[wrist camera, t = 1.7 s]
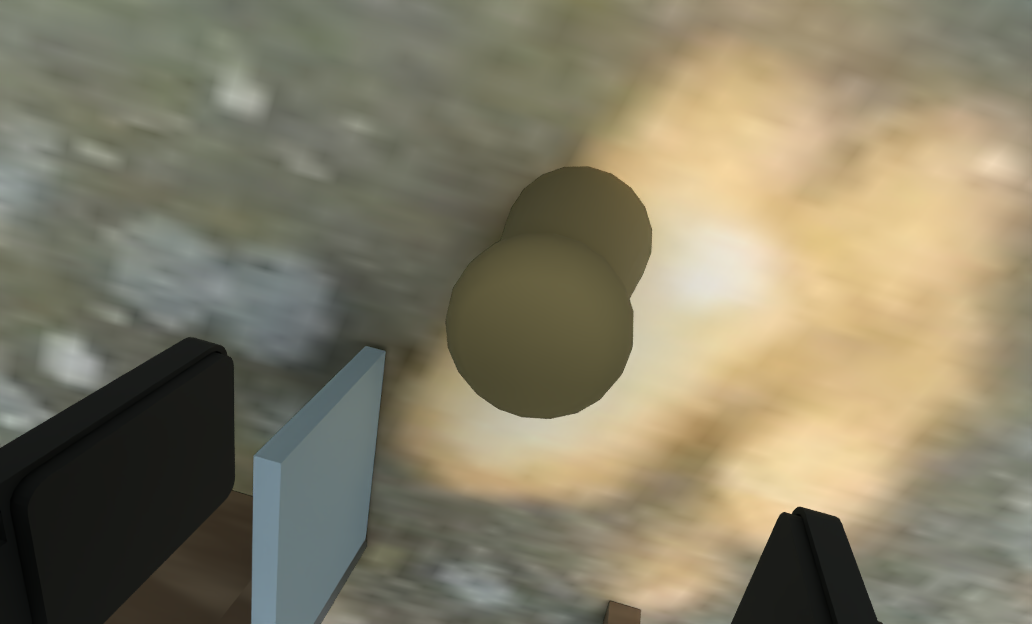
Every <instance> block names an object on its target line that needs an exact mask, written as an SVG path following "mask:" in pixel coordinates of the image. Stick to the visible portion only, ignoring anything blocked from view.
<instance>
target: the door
mask: <svg viewBox="0 0 1032 624" xmlns="http://www.w3.org/2000/svg"><path fill="white" fill-rule="evenodd" d="M385 354H386V351H383V350H379V349H376V348H372V347H368V346H365V347H364V348H363V349H362V350H361V351H360V352H359V353H358V354H357V355H356V356H355V357H354V358H353V359H352V360H351V361H350V362H349V363H348V364H347V365H346V366H345V367H344V368H342V369H341V370H340V371H339V372H338V373H337V374H336V375H335V376H334V377H333V378H332V379H331V380H330V381H329V382H328V383H327V384H326V385H325V386H324V387H323V388H322V389H321V390H320V391H319V392H318V393H317V394H316V395H315V396H314V397H313V398H312V399H311V400H310V401H309V402H308V403H307V404H306V405H305V406H304V407H303V408H302V409H301V410H300V411H299V412H298V413H297V414H296V415H295V416H294V417H293V418H291V419H290V420H289V421H288V422H287V423H286V424H285V425H284V426H283V427H282V428H281V429H280V430H279V431H278V432H277V433H276V434H275V435H274V436H273V437H272V438H271V439H270V440H269V441H268V442H267V443H266V444H265V445H264V446H263V447H262V448H261V449H260V450H259V451H258V452H257V453H256V454H255V455H254V467H253V540H252V614H251V624H321V623H322V621H323V619H324V618H325V616H326V614H327V613H328V611H329V609H330V608H331V606H332V604H333V603H334V601H335V599H336V598H337V596H338V594H339V593H340V591H341V589H342V588H343V586H344V584H345V582H346V581H347V579H348V577H349V576H350V574H351V572H352V571H353V569H354V567H355V566H356V564H357V562H358V561H359V559H360V557H361V556H362V554H363V552H364V551H365V549H366V547H367V543H366V540H365V539H366V532H367V522H368V513H369V504H370V494H371V485H372V475H373V466H374V457H375V447H376V438H377V429H378V419H379V410H380V400H381V391H382V382H383V372H384V363H385Z"/></svg>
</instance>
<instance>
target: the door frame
mask: <svg viewBox="0 0 1032 624" xmlns="http://www.w3.org/2000/svg"><path fill="white" fill-rule="evenodd" d="M252 540H253V497H252V496H249V495H245V494H242V493H239V492H235V491H231V493H230V494H229V496H228V498H227V499H226V500H225V501H224V502H223V503H222V504H221V505H220V506H219V507H218V508H217V509H216V510H215V511H214V512H213V513H212V514H211V515H210V516H209V517H208V518H207V519H206V520H205V521H204V522H203V523H202V524H201V525H200V526H199V528H198V529H197V530H196V531H195V532H194V533H193V534H192V535H191V536H190V537H189V538H188V539H187V540H186V541H185V542H184V543H183V544H182V545H181V546H180V547H179V548H178V549H177V550H176V551H175V552H174V553H173V554H172V555H171V556H170V557H169V558H168V559H167V560H166V561H165V562H164V563H163V564H162V565H161V566H160V567H159V568H158V569H157V570H156V571H155V572H154V573H153V574H152V575H151V576H150V577H149V578H148V579H147V580H146V581H145V582H144V583H143V584H142V585H141V586H140V587H139V588H138V589H137V590H136V591H135V592H134V593H133V594H132V595H131V596H130V597H129V598H128V599H127V600H126V601H125V602H124V603H123V604H122V605H121V606H120V607H119V608H118V610H117V611H116V612H115V613H114V614H113V615H112V616H111V617H110V618H109V619H108V620H107V621H106V622H105V623H104V624H251V614H252ZM640 615H641V610H639V609H635V608H632V607H629V606H625V605H622V604H619V603H615V602H612V601H610V602H609V605H608V608H607V611H606V614H605V618H604V621H603V624H640Z"/></svg>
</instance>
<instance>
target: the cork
mask: <svg viewBox="0 0 1032 624" xmlns="http://www.w3.org/2000/svg"><path fill="white" fill-rule="evenodd" d="M651 243H652V228H651V225H650V222H649V218H648V215H647V212H646V209H645V206H644V205H643V204H642V202H641V201H640V199H639V198H638V197H637V195H636V194H635V193H634V191H633V190H632V188H631V187H629V186H628V185H626V184H625V183H624V182H622V181H621V180H619V179H618V178H617V177H615V176H614V175H612V174H611V173H607V172H604V171H601V170H598V169H594V168H591V167H563V168H560V169H557V170H555V171H552V172H549V173H546V174H543V175H541V176H540V177H539V178H538V179H536V180H535V181H534V182H532V183H531V184H530V185H528V186H527V187H526V188H525V189H524V190H523V191H522V193H521V194H520V196H519V197H518V199H517V200H516V202H515V203H514V205H513V206H512V208H511V211H510V214H509V217H508V220H507V223H506V225H505V228H504V231H503V234H502V237H501V240H500V241H499V242H496V243H495V244H493V245H492V246H491V247H489V248H488V249H487V250H485V251H484V252H483V253H482V254H480V255H479V256H478V257H476V258H475V259H474V260H473V261H472V262H471V263H470V264H469V265H468V266H467V268H466V269H465V271H464V272H463V274H462V275H461V277H460V278H459V280H458V281H457V283H456V284H455V286H454V287H453V291H452V295H451V299H450V303H449V307H448V311H447V316H446V332H447V342H448V349H449V351H450V353H451V356H452V358H453V360H454V363H455V365H456V367H457V370H458V372H459V373H460V374H461V376H462V377H463V378H464V379H465V380H466V382H467V383H468V384H469V385H470V386H471V388H472V389H473V390H474V391H475V392H476V394H477V395H479V396H480V397H482V398H483V399H485V400H486V401H487V402H489V403H490V404H492V405H493V406H495V407H496V408H498V409H500V410H503V411H506V412H509V413H511V414H514V415H517V416H520V417H528V418H543V419H552V418H557V417H561V416H566V415H570V414H574V413H578V412H580V411H581V410H583V409H585V408H586V407H588V406H590V405H592V404H593V403H595V402H597V401H599V400H600V399H601V398H602V397H603V396H604V394H605V393H606V392H607V391H608V390H609V389H610V388H611V386H612V385H613V384H614V383H615V382H616V381H617V379H618V378H619V377H620V376H621V374H622V373H623V371H624V368H625V366H626V363H627V360H628V358H629V355H630V353H631V350H632V347H633V309H632V306H631V303H630V297H631V295H632V293H633V291H634V290H635V288H636V286H637V284H638V282H639V280H640V279H641V277H642V275H643V273H644V270H645V268H646V265H647V262H648V260H649V257H650V254H651Z"/></svg>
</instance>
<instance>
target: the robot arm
mask: <svg viewBox="0 0 1032 624" xmlns="http://www.w3.org/2000/svg"><path fill="white" fill-rule="evenodd" d="M234 481H235V446H234V365H233V360H232V358H231V357H229V356H227V352H226V350H225V348H224V347H223V346H221V345H218V344H215V343H211V342H207V341H204V340H200V339H197V338H191V337H188V338H186V339H183V340H182V341H180V342H178V343H177V344H175V345H173V346H172V347H170V348H168V349H166V350H165V351H163V352H161V353H160V354H158V355H156V356H155V357H153V358H151V359H150V360H148V361H146V362H145V363H143V364H141V365H140V366H138V367H136V368H134V369H133V370H131V371H129V372H128V373H126V374H124V375H123V376H121V377H119V378H118V379H116V380H114V381H113V382H111V383H109V384H107V385H106V386H104V387H102V388H101V389H99V390H97V391H96V392H94V393H92V394H91V395H89V396H87V397H86V398H84V399H82V400H80V401H79V402H77V403H75V404H74V405H72V406H70V407H69V408H67V409H65V410H64V411H62V412H60V413H59V414H57V415H55V416H53V417H52V418H50V419H48V420H47V421H45V422H43V423H42V424H40V425H38V426H37V427H35V428H33V429H32V430H30V431H28V432H26V433H25V434H23V435H21V436H20V437H18V438H16V439H15V440H13V441H11V442H10V443H8V444H6V445H5V446H3V447H1V448H0V624H104V623H105V622H106V621H107V620H108V619H109V618H110V617H111V616H112V615H113V614H114V613H115V612H116V611H117V610H118V608H119V607H120V606H121V605H122V604H123V603H124V602H125V601H126V600H127V599H128V598H129V597H130V596H131V595H132V594H133V593H134V592H135V591H136V590H137V589H138V588H139V587H140V586H141V585H142V584H143V583H144V582H145V581H146V580H147V579H148V578H149V577H150V576H151V575H152V574H153V573H154V572H155V571H156V570H157V569H158V568H159V567H160V566H161V565H162V564H163V563H164V562H165V561H166V560H167V559H168V558H169V557H170V556H171V555H172V554H173V553H174V552H175V551H176V550H177V549H178V548H179V547H180V546H181V545H182V544H183V543H184V542H185V541H186V540H187V539H188V538H189V537H190V536H191V535H192V534H193V533H194V532H195V531H196V530H197V529H198V528H199V526H200V525H201V524H202V523H203V522H204V521H205V520H206V519H207V518H208V517H209V516H210V515H211V514H212V513H213V512H214V511H215V510H216V509H217V508H218V507H219V506H220V505H221V504H222V503H223V502H224V501H225V500H226V499H227V498H228V496H229V494H230V493H231V491H232V488H233V485H234ZM731 624H883V623H882V622H879V621H878V620H877V617H876V615H875V612H874V609H873V607H872V604H871V601H870V598H869V596H868V593H867V590H866V588H865V585H864V582H863V579H862V577H861V574H860V571H859V569H858V566H857V563H856V561H855V558H854V555H853V552H852V550H851V547H850V544H849V542H848V539H847V536H846V533H845V531H844V528H843V525H842V523H841V521H840V519H839V518H837V517H836V516H832V515H828V514H825V513H821V512H818V511H814V510H811V509H807V508H803V507H797V508H796V509H795V510H794V511H793V513H792V514H790V513H786V512H783V513H781V514H780V516H779V518H778V519H777V522H776V524H775V526H774V528H773V531H772V533H771V535H770V537H769V540H768V542H767V544H766V546H765V548H764V551H763V553H762V555H761V557H760V560H759V562H758V564H757V566H756V569H755V571H754V573H753V575H752V578H751V580H750V582H749V584H748V587H747V589H746V591H745V593H744V596H743V598H742V600H741V602H740V605H739V607H738V609H737V611H736V614H735V616H734V618H733V620H732V623H731Z"/></svg>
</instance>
